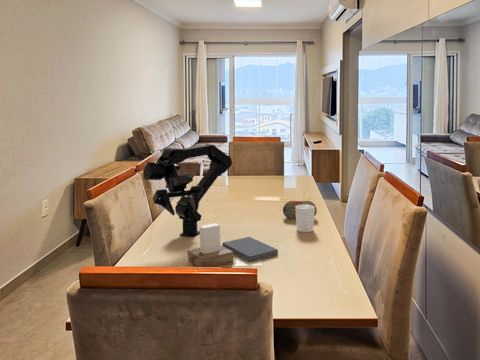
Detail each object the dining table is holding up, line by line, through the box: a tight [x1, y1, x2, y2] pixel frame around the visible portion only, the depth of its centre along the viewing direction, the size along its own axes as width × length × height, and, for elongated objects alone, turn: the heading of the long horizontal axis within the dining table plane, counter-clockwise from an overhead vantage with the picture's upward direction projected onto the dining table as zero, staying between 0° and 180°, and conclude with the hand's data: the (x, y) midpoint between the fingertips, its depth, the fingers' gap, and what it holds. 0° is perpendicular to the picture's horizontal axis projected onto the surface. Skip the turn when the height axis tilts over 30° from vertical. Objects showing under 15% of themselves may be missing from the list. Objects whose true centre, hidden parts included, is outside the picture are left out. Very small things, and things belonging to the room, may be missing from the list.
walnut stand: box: [187, 244, 234, 268], centre depth 155 cm, size 10×12×4 cm
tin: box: [282, 200, 318, 220], centre depth 206 cm, size 15×3×8 cm, turn 81°
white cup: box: [295, 205, 315, 233], centre depth 189 cm, size 8×8×10 cm
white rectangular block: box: [199, 223, 221, 254], centre depth 154 cm, size 3×6×9 cm, turn 123°
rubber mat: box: [222, 236, 279, 263], centre depth 166 cm, size 18×12×2 cm, turn 33°
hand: (185, 213), depth 168 cm, fingers open, 9 cm apart
